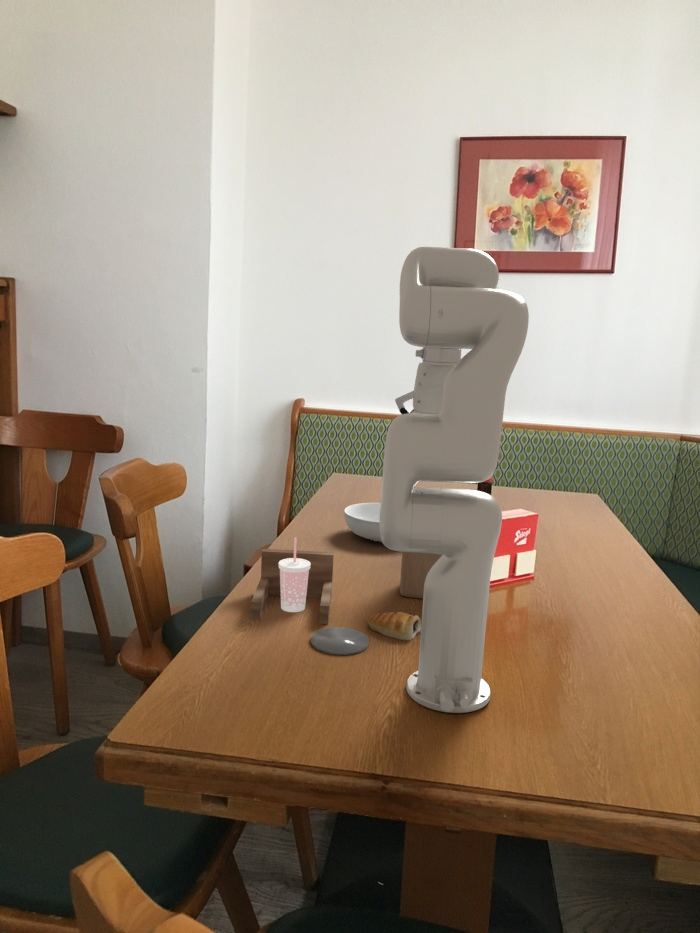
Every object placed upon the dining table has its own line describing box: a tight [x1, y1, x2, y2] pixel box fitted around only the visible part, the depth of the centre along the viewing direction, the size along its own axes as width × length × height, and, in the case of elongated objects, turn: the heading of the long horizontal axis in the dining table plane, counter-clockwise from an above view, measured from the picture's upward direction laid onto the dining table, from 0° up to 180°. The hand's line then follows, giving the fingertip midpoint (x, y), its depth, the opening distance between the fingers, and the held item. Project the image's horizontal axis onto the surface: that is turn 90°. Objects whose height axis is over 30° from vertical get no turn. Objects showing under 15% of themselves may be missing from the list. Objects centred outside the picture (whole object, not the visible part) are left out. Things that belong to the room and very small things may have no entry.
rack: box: [250, 548, 334, 625], centre depth 144 cm, size 15×14×9 cm
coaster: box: [310, 626, 370, 656], centre depth 130 cm, size 10×10×1 cm
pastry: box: [367, 611, 422, 642], centre depth 136 cm, size 9×7×4 cm
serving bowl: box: [343, 502, 383, 543], centre depth 193 cm, size 21×21×7 cm
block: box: [399, 552, 442, 599], centre depth 154 cm, size 10×10×20 cm
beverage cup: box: [278, 536, 311, 613], centre depth 143 cm, size 6×6×14 cm
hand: (435, 442), depth 152 cm, fingers open, 9 cm apart
